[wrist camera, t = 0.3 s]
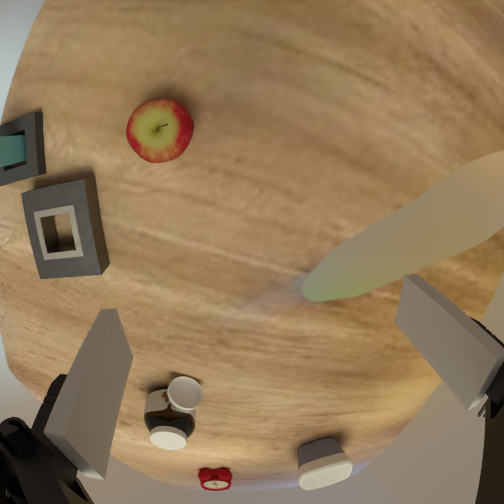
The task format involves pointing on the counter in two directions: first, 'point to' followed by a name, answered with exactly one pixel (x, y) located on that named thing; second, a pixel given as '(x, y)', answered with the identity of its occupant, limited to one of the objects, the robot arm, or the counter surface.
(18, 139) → the plug
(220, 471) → the alarm clock
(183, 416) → the spread jar
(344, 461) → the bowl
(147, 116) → the apple
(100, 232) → the port
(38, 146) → the dark grey square frame
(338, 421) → the counter surface
